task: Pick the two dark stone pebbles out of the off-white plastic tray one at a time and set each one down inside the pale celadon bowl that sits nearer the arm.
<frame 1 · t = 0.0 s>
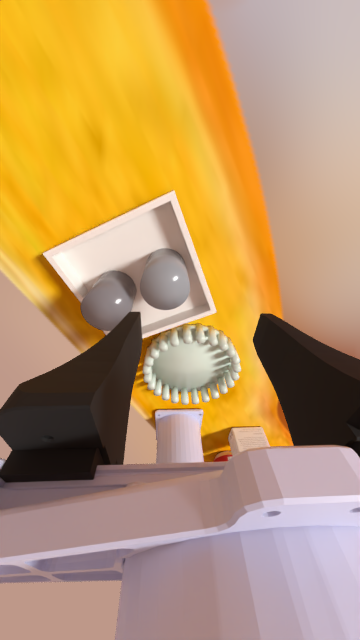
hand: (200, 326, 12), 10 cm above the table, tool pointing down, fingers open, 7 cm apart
skincare box: (244, 430, 39), on the table
celadon bowl: (190, 360, 28), on the table
pebble slate: (165, 269, 20), point 1 cm above the table, touching parts tray
parts tray: (141, 277, 21), on the table
pebble charcoal: (116, 289, 21), point 1 cm above the table, touching parts tray
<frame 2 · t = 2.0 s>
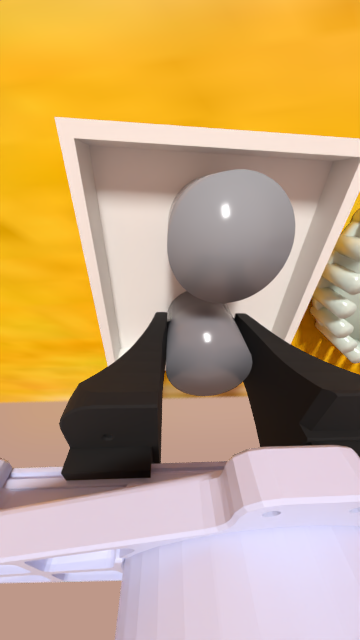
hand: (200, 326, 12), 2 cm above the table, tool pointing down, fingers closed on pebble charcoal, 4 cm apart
pebble slate: (207, 224, 10), point 1 cm above the table, touching parts tray
parts tray: (200, 272, 12), on the table
pebble charcoal: (197, 316, 13), point 1 cm above the table, touching gripper, parts tray
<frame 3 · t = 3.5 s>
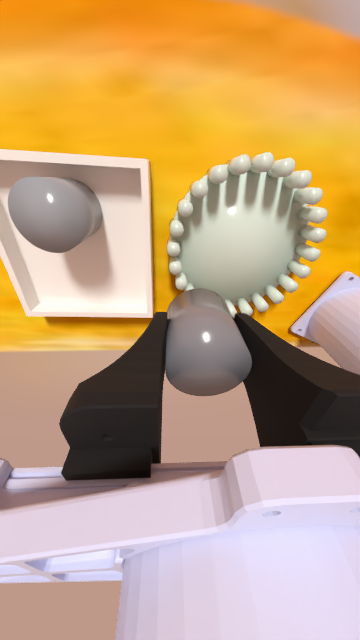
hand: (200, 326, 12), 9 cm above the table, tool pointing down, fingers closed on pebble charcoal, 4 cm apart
celadon bowl: (236, 244, 18), on the table
pebble slate: (75, 209, 16), point 1 cm above the table, touching parts tray
parts tray: (85, 245, 18), on the table
pebble charcoal: (197, 316, 13), point 8 cm above the table, touching gripper
when the fingers open (3 cm above the table, at t = 5.3 s): pebble charcoal drops 2 cm, resting on celadon bowl.
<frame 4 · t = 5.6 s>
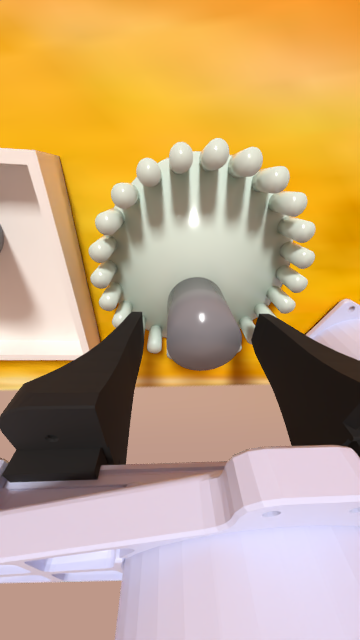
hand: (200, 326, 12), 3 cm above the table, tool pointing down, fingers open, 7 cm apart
celadon bowl: (197, 267, 14), on the table
pebble charcoal: (195, 303, 15), point 1 cm above the table, touching celadon bowl
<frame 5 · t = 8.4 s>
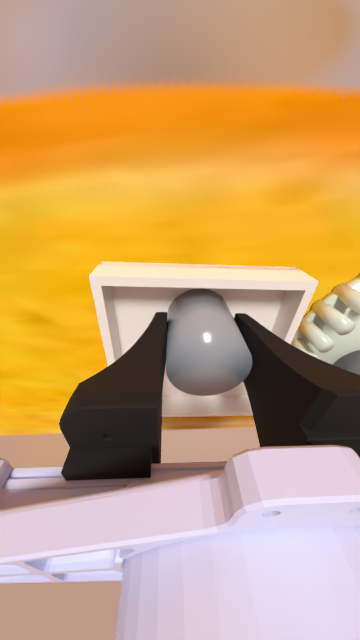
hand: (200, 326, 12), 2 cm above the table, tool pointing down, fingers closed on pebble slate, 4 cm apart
pebble slate: (197, 316, 13), point 1 cm above the table, touching gripper, parts tray
parts tray: (193, 343, 15), on the table
pebble charcoal: (353, 367, 17), point 1 cm above the table, touching celadon bowl
when the fingers open (3 cm above the table, at t = 11.9 s): pebble slate drops 2 cm, resting on celadon bowl.
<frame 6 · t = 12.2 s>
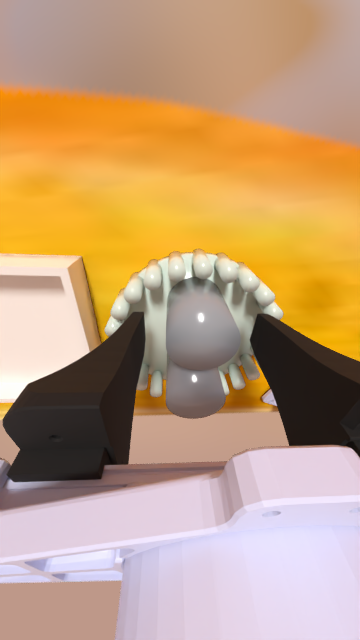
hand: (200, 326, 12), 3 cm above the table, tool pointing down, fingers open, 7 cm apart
celadon bowl: (191, 327, 17), on the table
pebble slate: (194, 303, 15), point 1 cm above the table, touching celadon bowl
parts tray: (23, 330, 16), on the table
pebble charcoal: (190, 354, 17), point 1 cm above the table, touching celadon bowl
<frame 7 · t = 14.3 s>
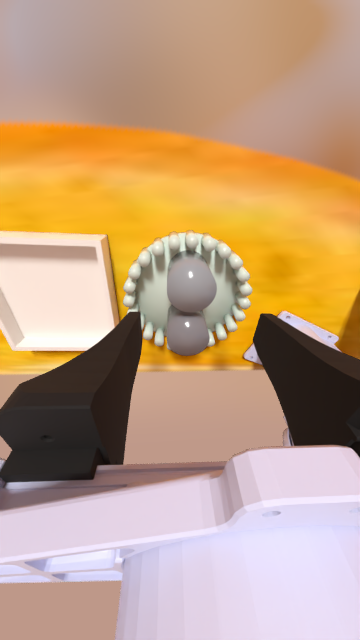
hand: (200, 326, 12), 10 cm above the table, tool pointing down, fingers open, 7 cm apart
celadon bowl: (186, 291, 22), on the table
pebble slate: (187, 271, 20), point 1 cm above the table, touching celadon bowl
parts tray: (60, 293, 21), on the table
pebble charcoal: (185, 314, 23), point 1 cm above the table, touching celadon bowl
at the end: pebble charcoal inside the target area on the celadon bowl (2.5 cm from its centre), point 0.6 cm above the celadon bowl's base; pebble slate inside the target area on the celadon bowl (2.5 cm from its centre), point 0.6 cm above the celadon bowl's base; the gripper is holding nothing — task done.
